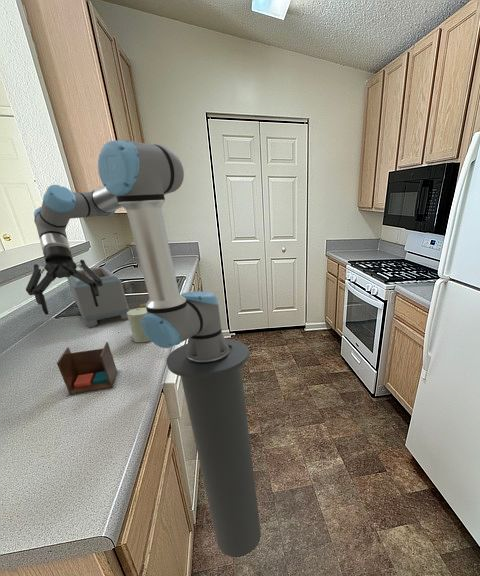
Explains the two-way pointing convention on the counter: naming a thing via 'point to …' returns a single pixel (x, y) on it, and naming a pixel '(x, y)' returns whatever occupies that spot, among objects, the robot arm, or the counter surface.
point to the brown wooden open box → (87, 368)
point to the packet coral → (84, 380)
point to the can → (137, 324)
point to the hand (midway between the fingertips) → (72, 308)
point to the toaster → (99, 297)
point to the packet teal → (100, 378)
